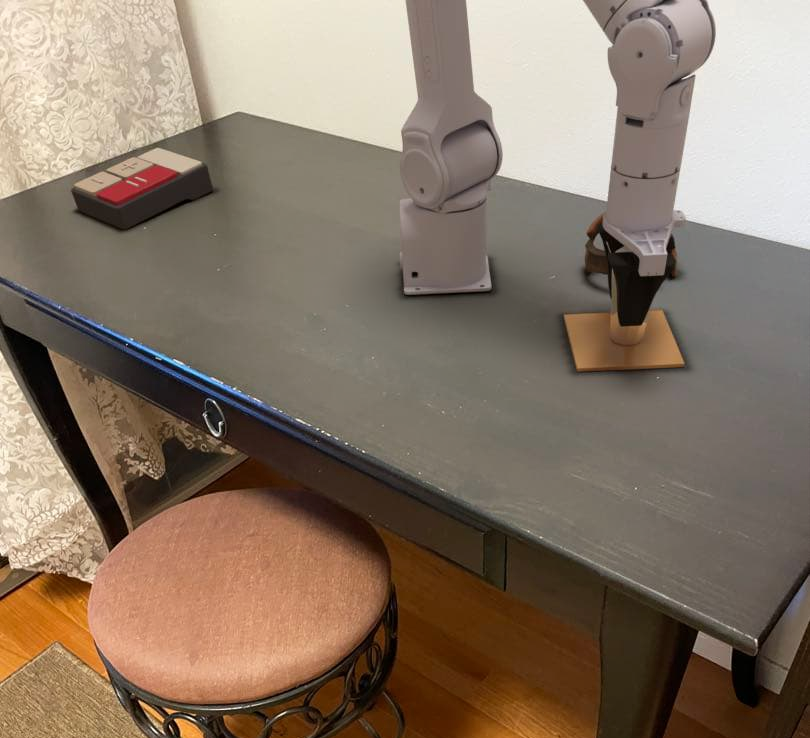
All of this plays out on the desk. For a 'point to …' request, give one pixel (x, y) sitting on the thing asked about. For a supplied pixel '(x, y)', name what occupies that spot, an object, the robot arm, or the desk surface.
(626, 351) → the coaster
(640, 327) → the milkshake
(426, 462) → the desk surface
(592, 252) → the broken clay pot
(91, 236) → the desk surface
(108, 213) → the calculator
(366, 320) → the desk surface
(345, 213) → the desk surface
